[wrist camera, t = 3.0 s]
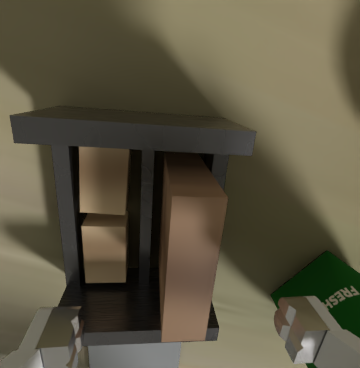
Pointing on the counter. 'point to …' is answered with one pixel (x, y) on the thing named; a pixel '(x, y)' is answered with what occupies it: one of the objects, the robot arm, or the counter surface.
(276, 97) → the counter surface
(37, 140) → the rack
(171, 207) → the brown flat block
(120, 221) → the oak offcut
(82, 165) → the oak offcut
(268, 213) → the counter surface
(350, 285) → the milk carton
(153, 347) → the grey mat
